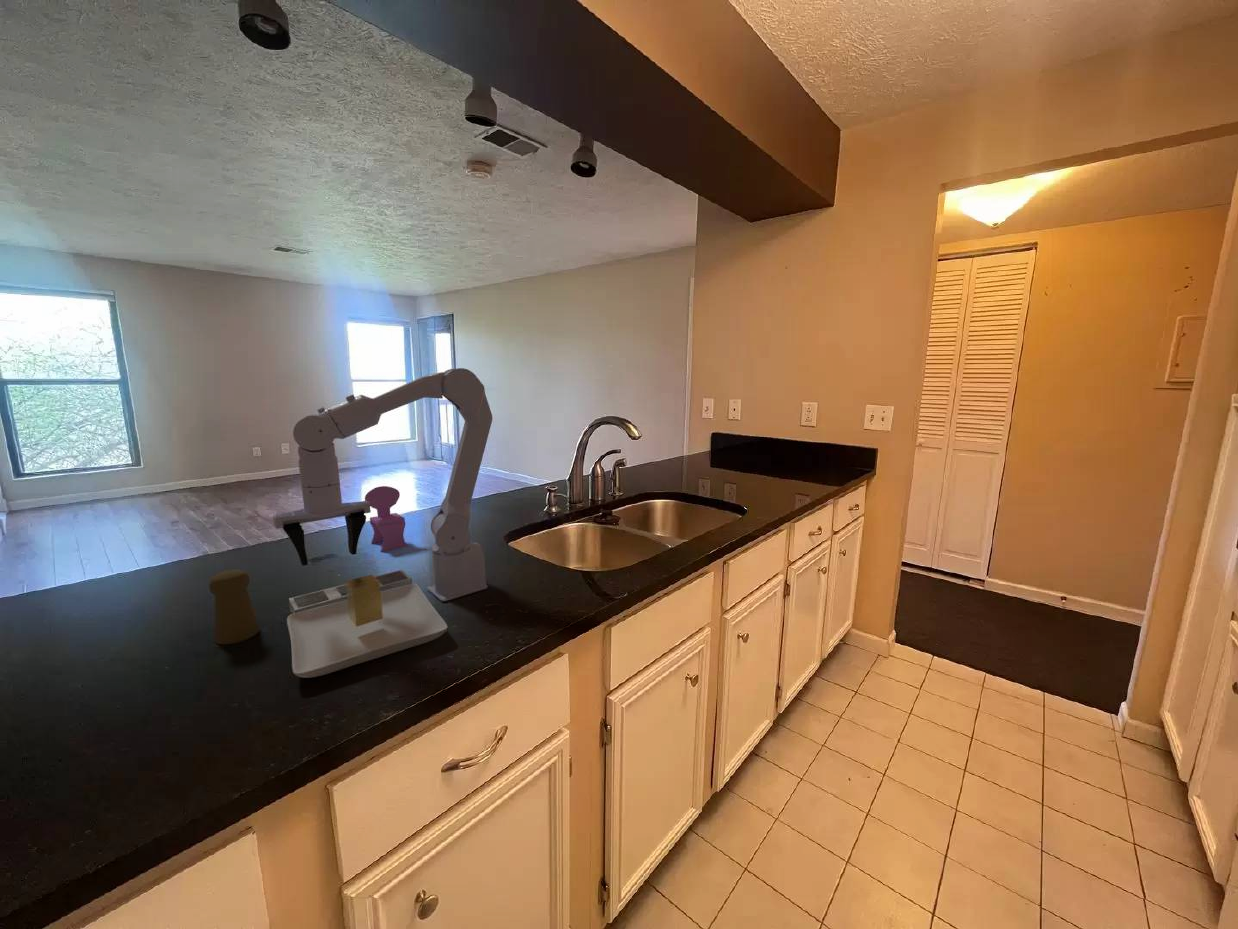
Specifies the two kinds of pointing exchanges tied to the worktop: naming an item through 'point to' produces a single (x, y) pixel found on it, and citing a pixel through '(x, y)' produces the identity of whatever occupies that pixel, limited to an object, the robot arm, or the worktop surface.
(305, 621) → the salad plate
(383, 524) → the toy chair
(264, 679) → the worktop surface
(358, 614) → the yellow rectangular block
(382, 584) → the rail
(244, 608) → the cork
